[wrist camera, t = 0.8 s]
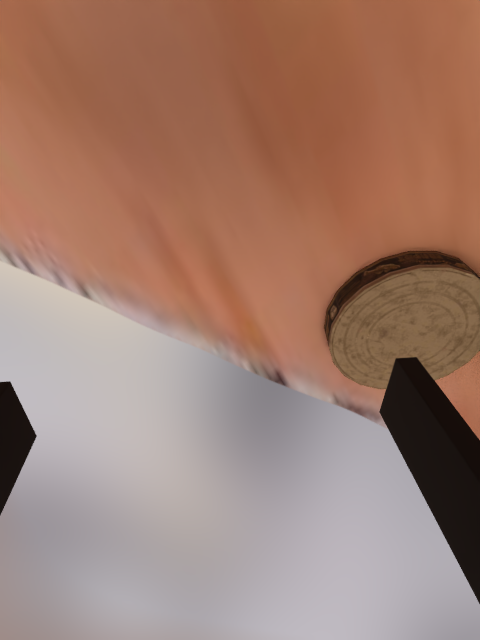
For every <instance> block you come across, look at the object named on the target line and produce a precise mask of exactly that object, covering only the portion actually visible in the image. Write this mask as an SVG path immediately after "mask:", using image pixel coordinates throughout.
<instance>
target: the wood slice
mask: <svg viewBox="0 0 480 640" xmlns="http://www.w3.org/2000/svg"><path fill="white" fill-rule="evenodd" d="M324 329H325V333H326V337H327V341H328V345H329V349H330V352H331V356H332V360H333V363H334V364H335V365H336V367H337V368H338V369H339V370H340V371H341V373H342V374H343V375H344V376H345V377H347V378H349V379H351V380H353V381H354V382H356V383H358V384H360V385H364V386H368V387H373V388H377V389H387V385H388V382H389V379H390V375H391V372H392V369H393V366H394V362H395V359H396V358H409V357H417V358H418V360H419V361H420V362H421V364H422V365H423V366H424V367H425V369H426V370H427V371H428V373H429V374H430V375H431V377H432V378H433V379H434V381H435V380H437V379H440V378H442V377H445V376H447V375H449V374H451V373H452V372H454V371H455V370H457V369H458V368H460V367H461V366H463V365H465V364H466V363H468V362H469V361H470V360H471V359H472V358H473V357H474V356H475V355H476V354H477V353H478V352H479V351H480V278H479V276H478V275H477V274H476V273H475V272H474V271H473V270H471V269H470V268H469V267H468V266H467V265H466V264H464V263H463V262H462V261H461V260H460V259H458V258H456V257H452V256H449V255H446V254H443V253H440V252H437V251H408V252H404V253H401V254H397V255H394V256H390V257H386V258H383V259H380V260H378V261H376V262H375V263H373V264H371V265H369V266H367V267H366V268H364V269H362V270H360V271H358V272H357V273H355V274H354V275H353V276H352V277H351V278H350V279H349V280H348V281H347V282H346V283H345V284H344V285H343V286H342V287H341V288H340V289H339V290H338V291H337V293H336V294H335V296H334V298H333V300H332V301H331V303H330V305H329V307H328V308H327V313H326V319H325V325H324Z"/></svg>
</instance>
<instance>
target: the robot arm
mask: <svg viewBox="0 0 480 640" xmlns="http://www.w3.org/2000/svg"><path fill="white" fill-rule="evenodd" d="M380 414H381V416H382V418H383V420H384V422H385V424H386V425H387V427H388V429H389V431H390V433H391V435H392V437H393V439H394V441H395V443H396V444H397V446H398V448H399V450H400V452H401V454H402V456H403V458H404V460H405V462H406V464H407V466H408V468H409V469H410V471H411V473H412V475H413V477H414V479H415V481H416V483H417V485H418V487H419V489H420V490H421V492H422V494H423V496H424V498H425V500H426V502H427V504H428V506H429V508H430V509H431V511H432V513H433V515H434V517H435V519H436V521H437V523H438V525H439V527H440V529H441V531H442V532H443V535H444V536H445V538H446V540H447V542H448V544H449V546H450V548H451V550H452V552H453V554H454V555H455V557H456V559H457V561H458V563H459V565H460V567H461V569H462V571H463V573H464V575H465V577H466V579H467V580H468V582H469V584H470V586H471V588H472V590H473V592H474V594H475V596H476V598H477V600H478V602H479V603H480V440H479V439H478V438H477V436H476V435H475V434H474V432H473V431H472V430H471V428H470V427H469V426H468V424H467V423H466V422H465V420H464V419H463V418H462V417H461V415H460V414H459V413H458V411H457V410H456V409H455V407H454V406H453V405H452V403H451V402H450V401H449V399H448V398H447V397H446V395H445V394H444V393H443V391H442V390H441V389H440V387H439V386H438V385H437V383H436V382H435V381H434V379H433V378H432V377H431V375H430V374H429V373H428V371H427V370H426V369H425V367H424V366H423V365H422V364H421V362H420V361H419V360H418V358H417V357H409V358H396V359H395V362H394V366H393V369H392V372H391V375H390V379H389V382H388V385H387V389H386V392H385V395H384V399H383V402H382V405H381V409H380ZM35 438H36V434H35V432H34V430H33V428H32V426H31V424H30V422H29V419H28V417H27V415H26V413H25V411H24V409H23V407H22V405H21V403H20V401H19V399H18V397H17V395H16V393H15V391H14V388H13V387H12V384H11V382H0V515H1V512H2V510H3V508H4V506H5V504H6V502H7V499H8V497H9V495H10V493H11V491H12V488H13V486H14V484H15V482H16V480H17V478H18V475H19V473H20V471H21V469H22V467H23V465H24V462H25V460H26V458H27V456H28V454H29V452H30V449H31V447H32V445H33V443H34V441H35Z"/></svg>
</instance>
